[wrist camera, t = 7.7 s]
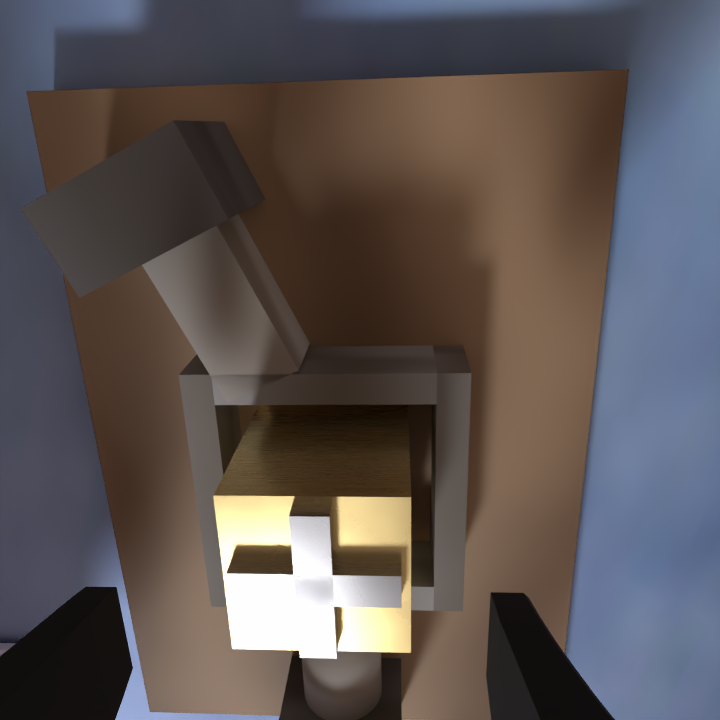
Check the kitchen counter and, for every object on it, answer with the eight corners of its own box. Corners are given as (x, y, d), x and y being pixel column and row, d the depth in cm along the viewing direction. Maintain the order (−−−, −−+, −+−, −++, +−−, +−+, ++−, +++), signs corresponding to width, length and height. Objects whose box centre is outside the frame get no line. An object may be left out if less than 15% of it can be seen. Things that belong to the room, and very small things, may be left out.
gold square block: (274, 518, 19) (228, 663, 14) (263, 395, 17) (207, 506, 12) (407, 519, 18) (411, 667, 13) (407, 395, 17) (411, 508, 12)
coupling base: (162, 683, 23) (105, 818, 18) (52, 93, 16) (-83, 81, 11) (548, 693, 22) (587, 838, 18) (611, 74, 15) (702, 51, 11)
